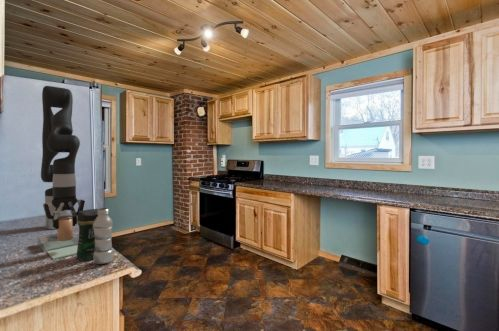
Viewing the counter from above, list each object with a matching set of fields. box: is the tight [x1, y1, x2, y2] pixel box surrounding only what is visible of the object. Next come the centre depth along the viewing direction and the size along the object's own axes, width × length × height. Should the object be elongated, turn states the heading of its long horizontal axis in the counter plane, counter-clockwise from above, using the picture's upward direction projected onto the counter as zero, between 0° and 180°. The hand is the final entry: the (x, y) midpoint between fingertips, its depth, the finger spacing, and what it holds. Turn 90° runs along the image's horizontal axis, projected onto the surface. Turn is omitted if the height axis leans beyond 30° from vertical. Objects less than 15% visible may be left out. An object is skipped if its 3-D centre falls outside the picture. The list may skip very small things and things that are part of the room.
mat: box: [46, 245, 78, 260], centre depth 106 cm, size 10×10×1 cm
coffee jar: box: [76, 208, 98, 261], centre depth 102 cm, size 10×8×19 cm
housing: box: [36, 232, 79, 253], centre depth 114 cm, size 12×12×4 cm
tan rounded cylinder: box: [57, 214, 74, 241], centre depth 105 cm, size 5×5×9 cm
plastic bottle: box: [92, 207, 114, 265], centre depth 96 cm, size 6×7×20 cm
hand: (65, 226), depth 105 cm, fingers closed on tan rounded cylinder, 5 cm apart
